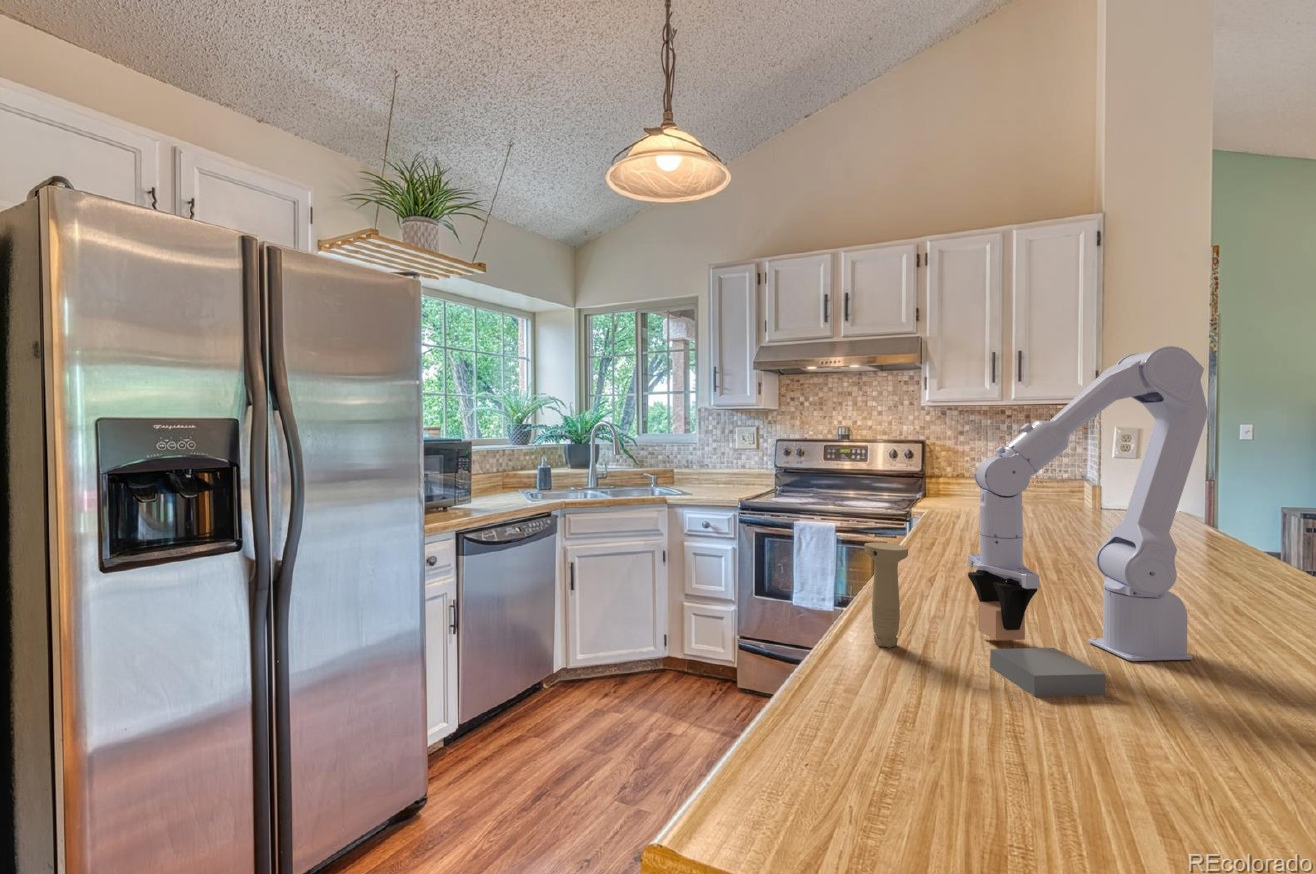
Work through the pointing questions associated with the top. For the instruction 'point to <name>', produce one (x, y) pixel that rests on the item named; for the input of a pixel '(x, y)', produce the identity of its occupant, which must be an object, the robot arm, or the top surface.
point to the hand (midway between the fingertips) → (1001, 623)
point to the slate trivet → (1047, 672)
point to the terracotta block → (996, 623)
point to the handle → (885, 591)
